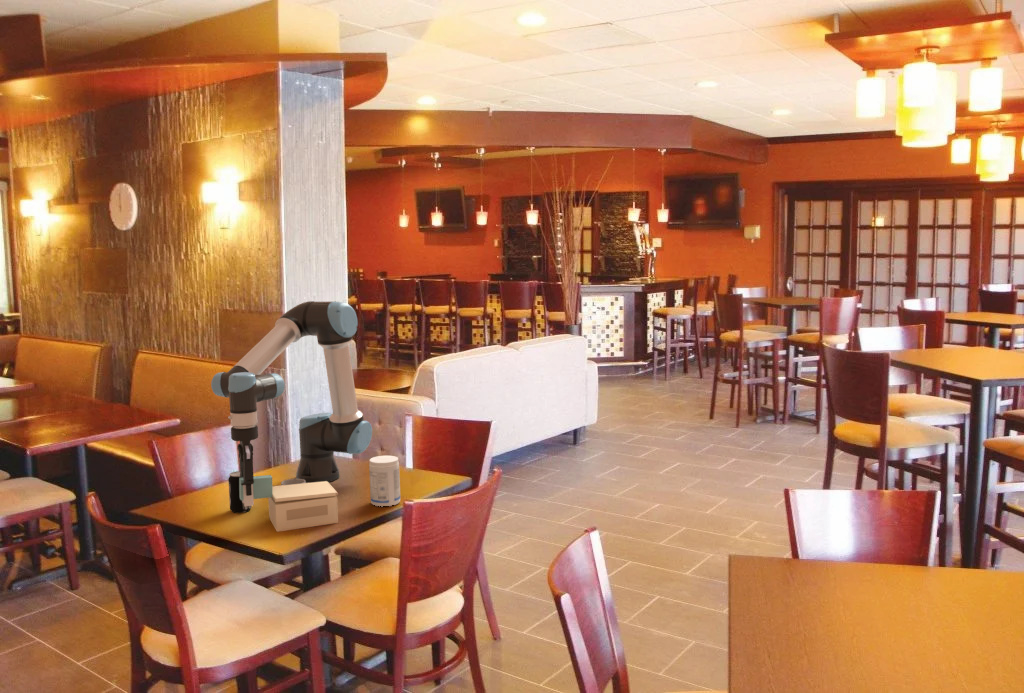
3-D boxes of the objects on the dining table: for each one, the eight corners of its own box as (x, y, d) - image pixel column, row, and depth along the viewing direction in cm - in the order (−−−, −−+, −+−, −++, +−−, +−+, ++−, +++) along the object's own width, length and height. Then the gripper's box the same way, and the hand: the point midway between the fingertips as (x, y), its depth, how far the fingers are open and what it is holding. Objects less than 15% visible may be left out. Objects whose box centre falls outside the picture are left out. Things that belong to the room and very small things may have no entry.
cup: (311, 505, 270) (310, 479, 269) (291, 514, 261) (290, 488, 260) (292, 503, 273) (291, 477, 272) (272, 512, 264) (270, 485, 263)
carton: (269, 517, 259) (268, 492, 258) (327, 509, 266) (326, 485, 265) (276, 531, 246) (275, 505, 245) (338, 522, 253) (337, 496, 252)
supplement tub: (390, 496, 279) (389, 453, 277) (406, 503, 272) (405, 459, 270) (364, 502, 273) (363, 458, 271) (380, 509, 266) (378, 464, 264)
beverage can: (229, 508, 268) (227, 471, 267) (251, 506, 271) (249, 469, 269) (230, 514, 262) (228, 477, 261) (252, 512, 265) (250, 474, 263)
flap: (237, 492, 254) (237, 473, 253) (328, 484, 265) (328, 465, 265) (243, 505, 241) (242, 484, 241) (338, 495, 253) (338, 476, 252)
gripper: (227, 421, 252) (231, 498, 254) (234, 432, 237) (238, 513, 240) (253, 419, 255) (257, 494, 257) (261, 429, 240) (265, 509, 243)
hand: (248, 503), depth 249 cm, fingers closed on flap, 3 cm apart
